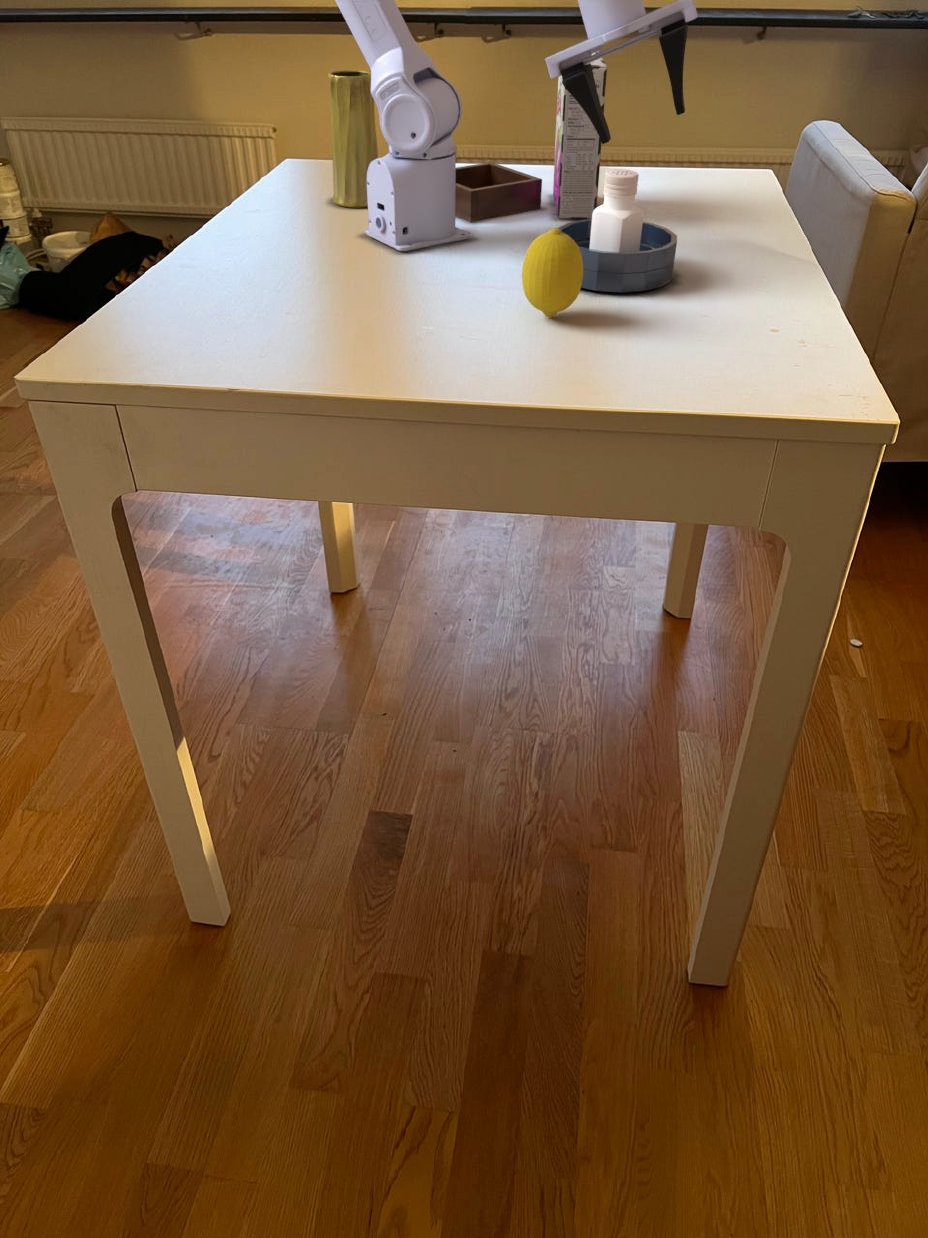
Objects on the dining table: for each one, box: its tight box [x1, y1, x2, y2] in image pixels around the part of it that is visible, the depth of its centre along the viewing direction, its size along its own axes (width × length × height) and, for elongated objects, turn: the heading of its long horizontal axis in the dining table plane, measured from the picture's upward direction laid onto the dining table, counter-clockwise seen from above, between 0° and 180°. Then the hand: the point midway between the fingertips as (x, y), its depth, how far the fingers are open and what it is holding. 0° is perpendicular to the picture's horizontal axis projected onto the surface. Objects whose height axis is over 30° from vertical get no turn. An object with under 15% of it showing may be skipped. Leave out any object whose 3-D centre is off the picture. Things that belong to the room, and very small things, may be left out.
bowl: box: [557, 219, 678, 293], centre depth 98 cm, size 12×12×4 cm
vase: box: [327, 69, 379, 209], centre depth 117 cm, size 6×6×14 cm
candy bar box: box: [552, 50, 608, 221], centre depth 115 cm, size 11×5×16 cm, turn 179°
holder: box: [455, 161, 543, 223], centre depth 119 cm, size 11×11×4 cm
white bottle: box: [589, 168, 645, 252], centre depth 96 cm, size 4×4×10 cm
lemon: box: [521, 227, 583, 319], centre depth 87 cm, size 6×6×8 cm
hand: (643, 127), depth 97 cm, fingers open, 7 cm apart
